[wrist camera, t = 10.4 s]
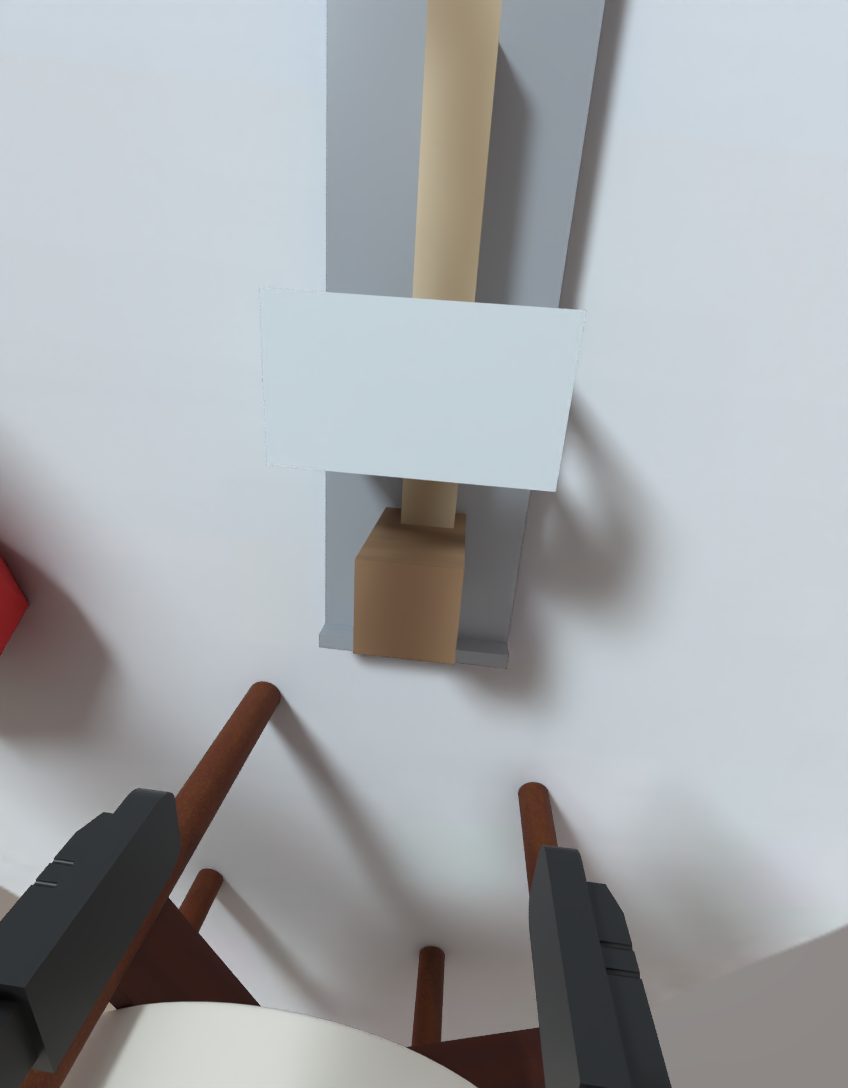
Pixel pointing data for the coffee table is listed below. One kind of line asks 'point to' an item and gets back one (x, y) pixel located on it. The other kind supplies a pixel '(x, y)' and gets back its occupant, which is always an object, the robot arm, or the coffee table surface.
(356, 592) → the walnut block
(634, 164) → the coffee table surface
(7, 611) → the apple
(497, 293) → the grey pocketed tray
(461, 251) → the beech dowel
